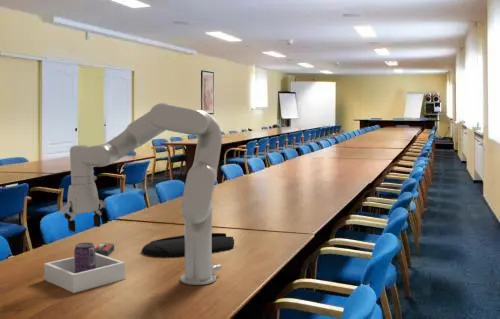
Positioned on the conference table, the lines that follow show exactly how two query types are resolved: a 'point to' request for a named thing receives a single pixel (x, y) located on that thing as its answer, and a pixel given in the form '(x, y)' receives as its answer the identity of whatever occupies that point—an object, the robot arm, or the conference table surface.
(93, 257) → the beverage can
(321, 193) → the conference table surface
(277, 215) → the conference table surface
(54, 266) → the walled box
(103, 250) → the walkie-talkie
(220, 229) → the conference table surface
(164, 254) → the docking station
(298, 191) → the conference table surface
